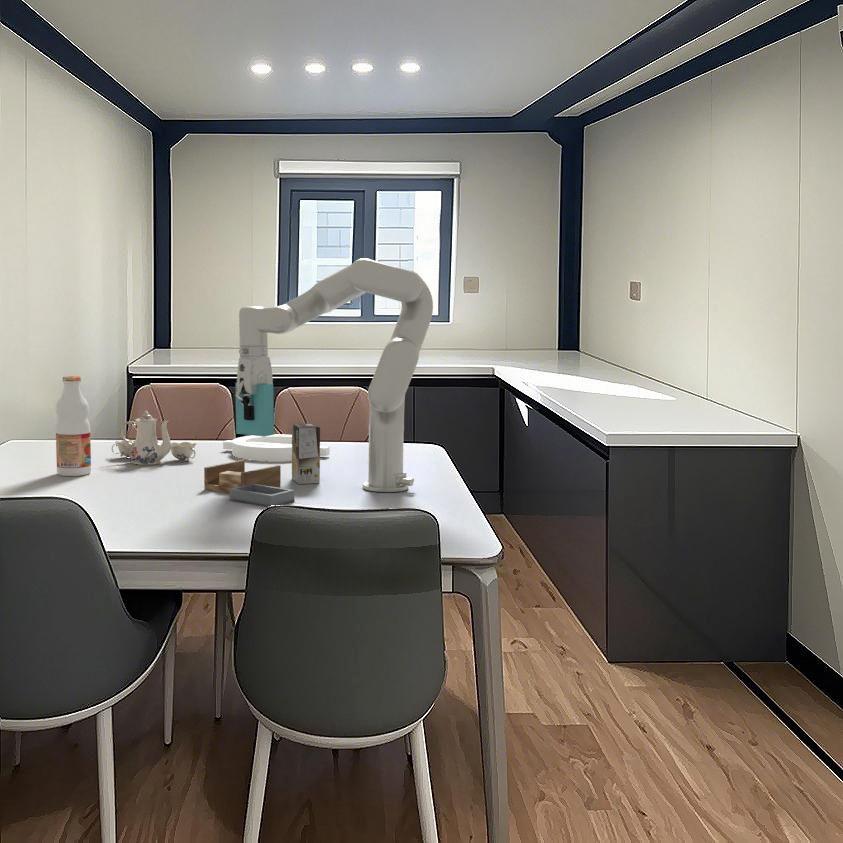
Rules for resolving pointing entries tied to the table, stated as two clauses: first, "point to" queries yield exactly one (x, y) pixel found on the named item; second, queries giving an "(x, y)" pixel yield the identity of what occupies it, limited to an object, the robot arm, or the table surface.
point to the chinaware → (152, 443)
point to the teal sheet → (257, 413)
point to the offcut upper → (230, 477)
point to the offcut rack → (259, 476)
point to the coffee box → (306, 453)
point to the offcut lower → (229, 485)
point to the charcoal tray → (262, 495)
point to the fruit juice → (73, 430)
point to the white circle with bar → (265, 448)
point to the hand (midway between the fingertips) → (254, 418)
